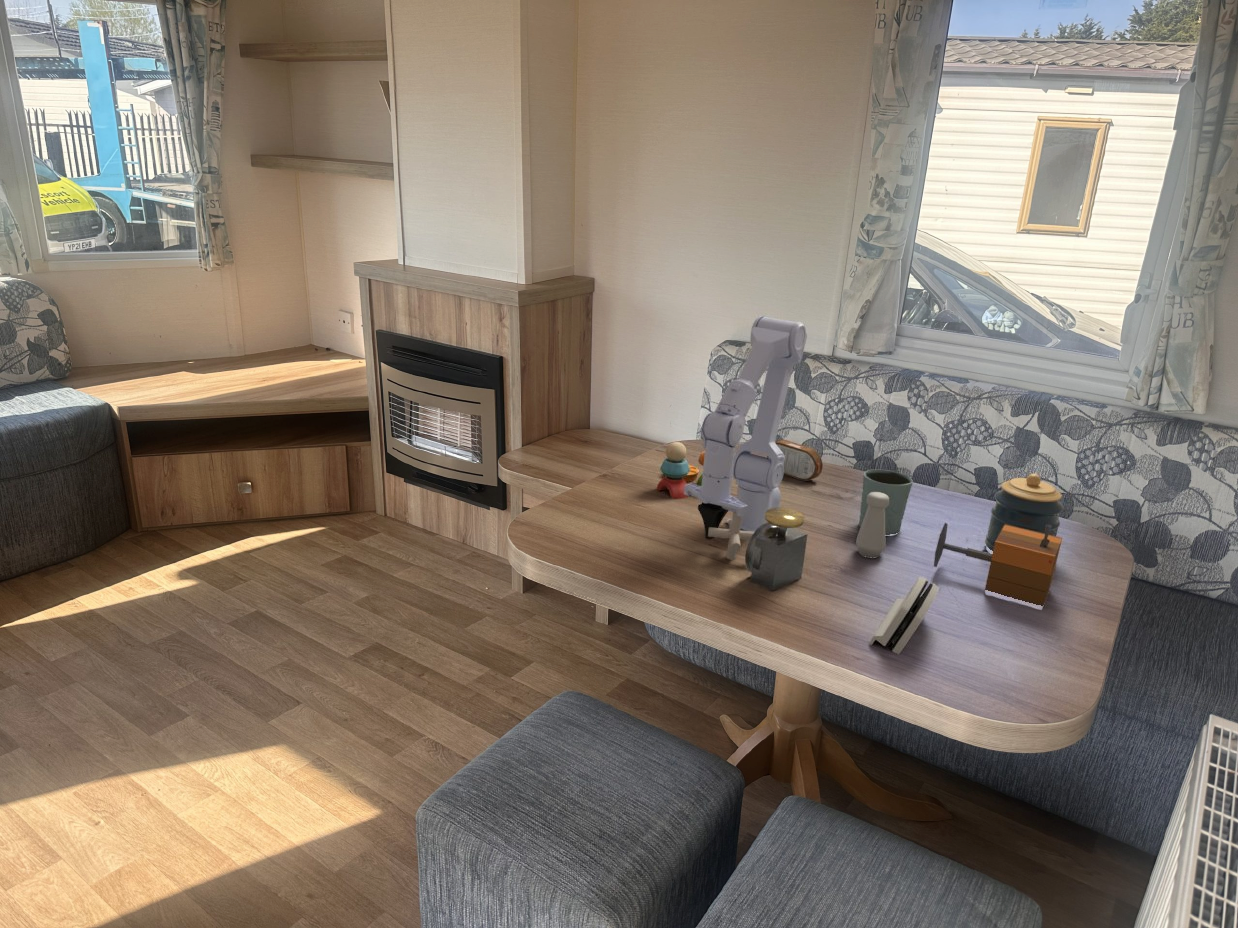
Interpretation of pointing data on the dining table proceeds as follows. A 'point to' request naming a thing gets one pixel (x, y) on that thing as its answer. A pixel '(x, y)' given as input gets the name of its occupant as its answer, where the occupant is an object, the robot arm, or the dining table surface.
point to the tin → (800, 460)
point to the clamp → (1015, 562)
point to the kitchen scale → (777, 549)
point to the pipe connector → (732, 535)
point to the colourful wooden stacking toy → (678, 471)
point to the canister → (1025, 507)
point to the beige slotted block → (905, 616)
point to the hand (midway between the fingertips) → (710, 538)
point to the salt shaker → (873, 526)
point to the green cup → (894, 488)
